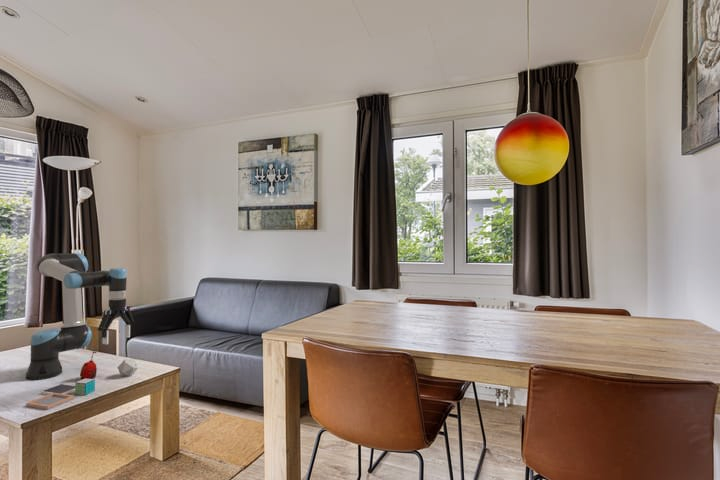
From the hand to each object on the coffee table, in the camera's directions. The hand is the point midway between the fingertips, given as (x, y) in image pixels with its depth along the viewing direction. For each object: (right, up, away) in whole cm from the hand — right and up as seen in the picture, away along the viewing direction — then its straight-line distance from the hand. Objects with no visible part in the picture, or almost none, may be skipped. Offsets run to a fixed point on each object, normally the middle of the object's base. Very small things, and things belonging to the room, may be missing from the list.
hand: (116, 340), depth 198 cm
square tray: (-15, -22, -23) cm, 35 cm away
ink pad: (-20, -22, -11) cm, 31 cm away
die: (-2, -22, +12) cm, 25 cm away
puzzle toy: (-8, -22, -12) cm, 26 cm away
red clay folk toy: (-19, -22, +6) cm, 29 cm away
